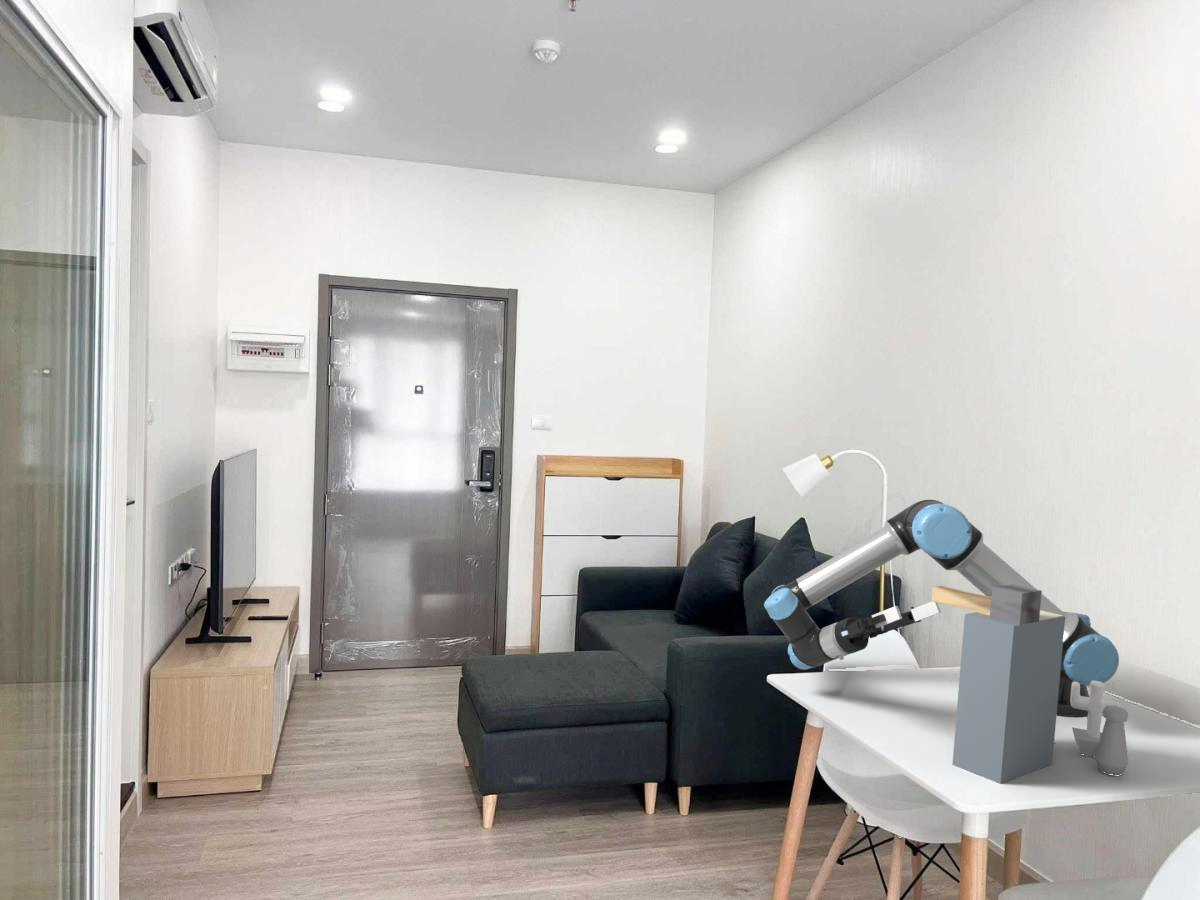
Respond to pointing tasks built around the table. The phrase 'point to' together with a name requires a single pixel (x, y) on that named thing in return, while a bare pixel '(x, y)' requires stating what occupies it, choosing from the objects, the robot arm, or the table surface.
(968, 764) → the tall grey pillar
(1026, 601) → the hammer
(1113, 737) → the salt shaker
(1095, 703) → the figurine
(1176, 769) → the table surface
